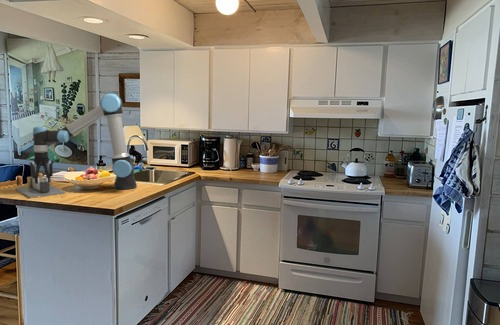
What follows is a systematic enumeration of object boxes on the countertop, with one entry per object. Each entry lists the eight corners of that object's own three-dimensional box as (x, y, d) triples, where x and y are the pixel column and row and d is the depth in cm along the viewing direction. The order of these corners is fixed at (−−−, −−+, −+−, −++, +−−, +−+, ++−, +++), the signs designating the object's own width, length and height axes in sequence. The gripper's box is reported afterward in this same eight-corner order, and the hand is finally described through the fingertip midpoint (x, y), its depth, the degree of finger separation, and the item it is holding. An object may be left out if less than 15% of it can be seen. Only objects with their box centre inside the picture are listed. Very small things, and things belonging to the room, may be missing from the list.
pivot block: (27, 187, 238) (27, 175, 237) (39, 186, 243) (38, 174, 242) (30, 188, 234) (29, 177, 233) (42, 187, 239) (41, 175, 238)
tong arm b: (32, 187, 234) (32, 178, 234) (36, 187, 236) (35, 178, 235) (42, 192, 222) (42, 183, 221) (46, 192, 223) (45, 182, 222)
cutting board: (15, 189, 234) (15, 188, 234) (48, 186, 249) (48, 184, 249) (29, 198, 214) (29, 196, 214) (65, 193, 229) (65, 191, 228)
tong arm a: (36, 186, 236) (36, 178, 235) (40, 186, 238) (39, 177, 237) (46, 192, 223) (45, 182, 222) (49, 191, 225) (49, 182, 224)
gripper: (53, 150, 233) (55, 185, 236) (23, 151, 220) (25, 188, 223) (57, 151, 228) (59, 187, 231) (27, 152, 215) (29, 190, 218)
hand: (42, 188), depth 227 cm, fingers open, 4 cm apart
